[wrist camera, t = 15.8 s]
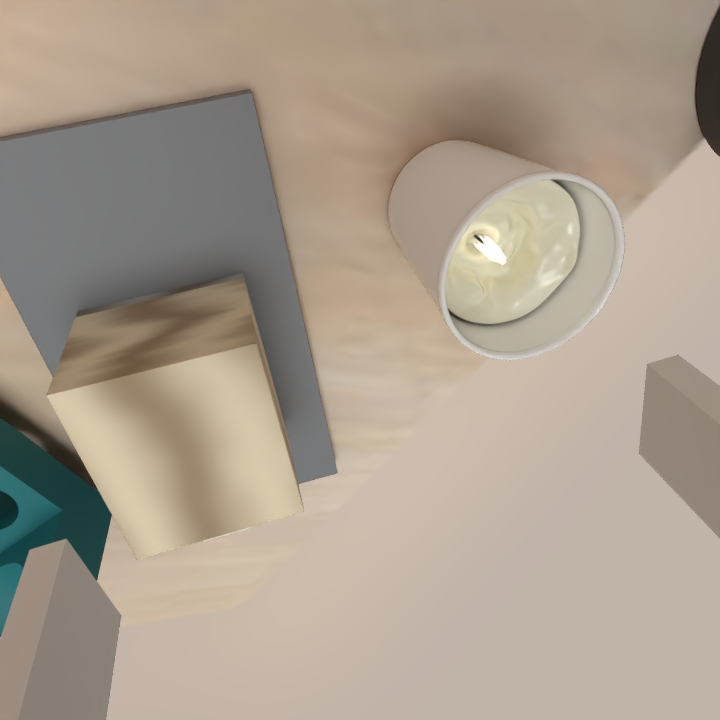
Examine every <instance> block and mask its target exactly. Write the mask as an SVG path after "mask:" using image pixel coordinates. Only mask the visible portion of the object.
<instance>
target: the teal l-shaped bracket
mask: <svg viewBox="0 0 720 720" xmlns="http://www.w3.org/2000/svg"><path fill="white" fill-rule="evenodd" d="M111 516H112V514H111V512H110V511H109V509H108V507H107V505H106V503H105V501H104V500H103V498H102V496H101V494H100V492H98V491H97V490H96V489H94V488H93V487H92V486H90V485H89V484H88V483H86V482H85V481H84V480H82V479H81V478H80V477H78V476H77V475H76V474H75V473H73V472H72V471H71V470H69V469H68V468H67V467H65V466H64V465H63V464H61V463H60V462H59V461H57V460H56V459H55V458H53V457H52V456H51V455H49V454H48V453H47V452H45V451H44V450H43V449H41V448H40V447H39V446H38V445H36V444H35V443H34V442H32V441H31V440H30V439H28V438H27V437H26V436H24V435H23V434H22V433H20V432H19V431H18V430H16V429H15V428H14V427H12V426H11V425H10V424H8V423H7V422H6V421H4V420H3V419H2V418H1V417H0V637H1V635H2V632H3V629H4V626H5V623H6V620H7V617H8V614H9V611H10V608H11V604H12V601H13V598H14V595H15V592H16V589H17V586H18V583H19V580H20V577H21V574H22V571H23V568H24V565H25V562H26V559H27V556H28V553H29V550H30V549H34V548H37V547H40V546H44V545H47V544H50V543H54V542H57V541H60V540H64V539H67V540H68V541H69V543H70V544H71V546H72V547H73V549H74V550H75V551H76V553H77V554H78V556H79V557H80V558H81V560H82V561H83V563H84V564H85V565H86V567H87V568H88V570H89V571H90V572H91V574H92V575H93V577H94V578H95V580H96V581H97V578H98V574H99V569H100V565H101V560H102V556H103V552H104V547H105V543H106V538H107V534H108V529H109V525H110V520H111Z"/></svg>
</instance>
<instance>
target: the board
mask: <svg viewBox="0 0 720 720" xmlns="http://www.w3.org/2000/svg"><path fill="white" fill-rule="evenodd" d="M240 273H243V274H244V278H245V281H246V285H247V288H248V292H249V295H250V299H251V303H252V306H253V310H254V313H255V317H256V321H257V324H258V328H259V331H260V335H261V339H262V342H263V346H264V349H265V353H266V357H267V360H268V364H269V367H270V371H271V375H272V378H273V382H274V385H275V389H276V392H277V396H278V400H279V403H280V407H281V410H282V414H283V418H284V421H285V426H286V430H287V435H288V439H289V444H290V448H291V453H292V457H293V462H294V467H295V471H296V476H297V480H298V484H300V483H304V482H307V481H311V480H315V479H318V478H322V477H325V476H329V475H333V474H336V473H338V472H337V468H336V464H335V459H334V455H333V450H332V446H331V441H330V437H329V433H328V428H327V424H326V419H325V415H324V410H323V406H322V401H321V397H320V393H319V388H318V384H317V379H316V375H315V370H314V366H313V361H312V357H311V353H310V348H309V344H308V339H307V335H306V330H305V326H304V322H303V317H302V313H301V308H300V304H299V299H298V295H297V290H296V286H295V282H294V277H293V273H292V268H291V264H290V259H289V255H288V251H287V246H286V242H285V237H284V233H283V228H282V224H281V219H280V215H279V211H278V206H277V202H276V197H275V193H274V188H273V184H272V180H271V175H270V171H269V166H268V162H267V157H266V153H265V148H264V144H263V140H262V135H261V131H260V126H259V122H258V117H257V113H256V109H255V104H254V100H253V95H252V92H251V91H250V90H244V91H239V92H234V93H229V94H224V95H218V96H213V97H208V98H203V99H198V100H192V101H187V102H182V103H177V104H172V105H167V106H161V107H156V108H151V109H146V110H141V111H135V112H130V113H125V114H120V115H115V116H109V117H104V118H99V119H94V120H89V121H83V122H78V123H73V124H68V125H63V126H58V127H52V128H47V129H42V130H37V131H32V132H26V133H21V134H16V135H11V136H6V137H0V277H1V279H2V281H3V283H4V285H5V287H6V289H7V291H8V293H9V294H10V296H11V298H12V300H13V302H14V304H15V306H16V308H17V310H18V312H19V313H20V315H21V317H22V319H23V321H24V323H25V325H26V327H27V329H28V331H29V332H30V334H31V336H32V338H33V340H34V342H35V344H36V346H37V348H38V350H39V351H40V353H41V355H42V357H43V359H44V361H45V363H46V365H47V367H48V369H49V370H50V372H51V374H52V376H53V377H54V374H55V371H56V368H57V366H58V363H59V360H60V358H61V355H62V352H63V349H64V347H65V344H66V341H67V339H68V336H69V333H70V330H71V328H72V325H73V322H74V320H75V317H76V314H77V312H78V311H81V310H86V309H90V308H94V307H98V306H103V305H107V304H111V303H116V302H120V301H124V300H128V299H133V298H137V297H141V296H145V295H150V294H154V293H158V292H163V291H167V290H171V289H175V288H180V287H184V286H188V285H193V284H197V283H201V282H205V281H210V280H214V279H218V278H223V277H227V276H231V275H235V274H240Z"/></svg>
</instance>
